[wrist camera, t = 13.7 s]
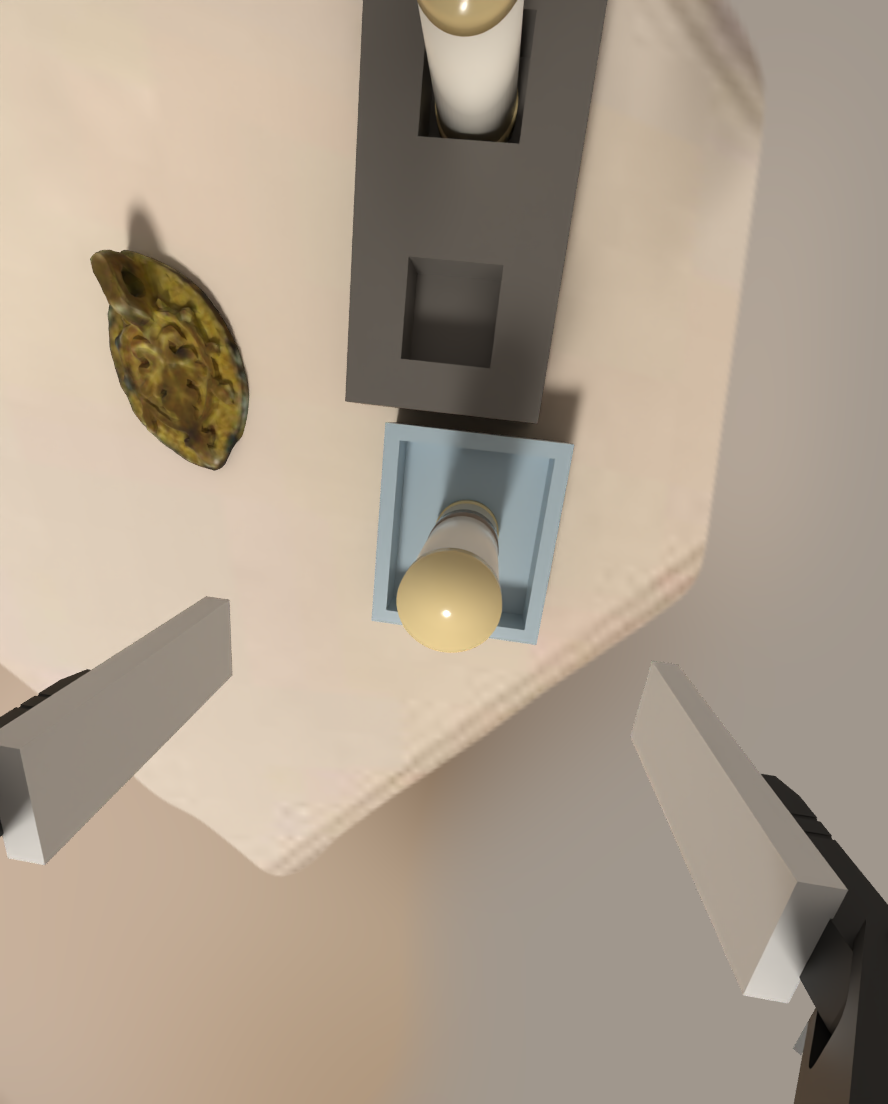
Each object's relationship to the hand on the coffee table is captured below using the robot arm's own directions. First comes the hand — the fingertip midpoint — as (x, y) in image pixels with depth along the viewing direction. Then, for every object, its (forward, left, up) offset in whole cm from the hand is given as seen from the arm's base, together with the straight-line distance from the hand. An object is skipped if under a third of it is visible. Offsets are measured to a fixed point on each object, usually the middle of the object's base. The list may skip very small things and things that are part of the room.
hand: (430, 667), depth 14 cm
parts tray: (0, 0, -21) cm, 21 cm away
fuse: (-24, -2, -20) cm, 31 cm away
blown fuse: (0, 0, -20) cm, 20 cm away
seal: (-9, -22, -21) cm, 32 cm away
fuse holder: (-19, -2, -21) cm, 28 cm away
